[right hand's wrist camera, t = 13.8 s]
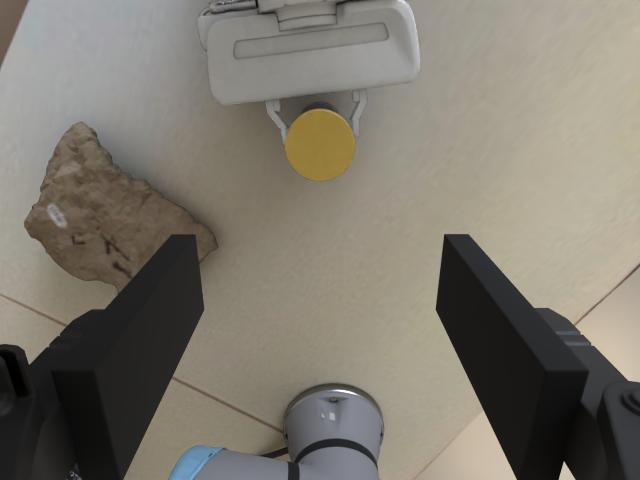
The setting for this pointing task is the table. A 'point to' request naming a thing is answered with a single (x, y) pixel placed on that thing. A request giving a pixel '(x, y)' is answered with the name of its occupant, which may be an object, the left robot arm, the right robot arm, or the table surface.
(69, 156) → the stone
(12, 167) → the table surface
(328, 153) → the lid
